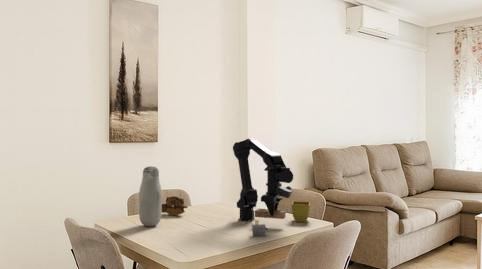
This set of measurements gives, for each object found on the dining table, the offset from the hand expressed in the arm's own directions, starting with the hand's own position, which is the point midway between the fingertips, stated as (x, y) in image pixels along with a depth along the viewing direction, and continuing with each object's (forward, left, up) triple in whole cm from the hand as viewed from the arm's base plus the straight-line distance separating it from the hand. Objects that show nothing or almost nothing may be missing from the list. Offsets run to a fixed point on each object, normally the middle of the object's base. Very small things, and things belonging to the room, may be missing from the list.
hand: (273, 214), depth 190 cm
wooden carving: (-58, +5, -6) cm, 58 cm away
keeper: (-1, -17, -6) cm, 18 cm away
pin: (-6, -7, -6) cm, 11 cm away
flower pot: (+8, +18, -6) cm, 21 cm away
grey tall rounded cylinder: (-54, -21, -6) cm, 58 cm away
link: (-1, 0, -1) cm, 2 cm away
